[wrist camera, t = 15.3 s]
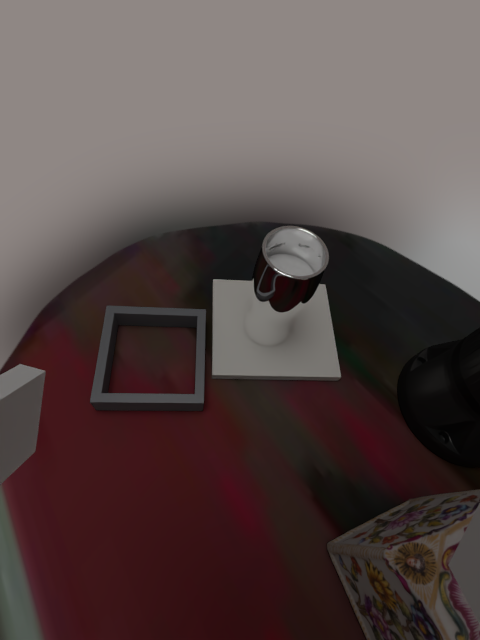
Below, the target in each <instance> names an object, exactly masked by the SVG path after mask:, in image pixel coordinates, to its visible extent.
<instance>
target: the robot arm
mask: <svg viewBox="0 0 480 640" xmlns="http://www.w3.org/2000/svg"><path fill="white" fill-rule="evenodd" d="M44 379H45V371H43V370H40V369H36V368H32V367H29V366H25V365H21V364H20V365H18V366H16V367H14V368H12V369H11V370H9V371H7V372H5V373H3V374H1V375H0V484H1V483H2V482H4V481H5V480H6V479H7V478H8V477H9V476H10V475H11V474H12V473H13V472H14V471H15V470H16V469H17V468H18V467H19V466H20V465H21V464H22V463H24V462H25V461H26V460H27V459H28V458H29V457H30V456H31V455H32V454H33V453H34V452H35V449H36V442H37V434H38V426H39V418H40V410H41V403H42V395H43V387H44ZM398 400H399V404H400V408H401V411H402V413H403V416H404V418H405V420H406V422H407V424H408V425H409V427H410V429H411V430H412V432H413V433H414V434H415V435H416V437H417V438H418V439H419V440H420V441H421V442H422V443H423V444H424V445H425V446H426V447H427V448H428V449H429V450H431V451H432V452H433V453H435V454H436V455H438V456H439V457H441V458H443V459H445V460H447V461H449V462H451V463H454V464H457V465H461V466H465V467H480V328H478V329H477V330H475V331H474V332H472V333H471V334H470V335H468V336H467V337H465V338H464V339H461V340H457V341H452V342H447V343H443V344H438V345H434V346H431V347H428V348H426V349H424V350H422V351H421V352H419V353H418V354H417V355H415V356H414V357H413V358H411V359H410V360H409V361H408V362H407V363H406V365H405V366H404V367H403V369H402V371H401V374H400V376H399V381H398ZM448 566H449V568H450V569H451V571H452V573H453V575H454V577H455V579H456V581H457V583H458V585H459V586H460V588H461V590H462V592H463V594H464V596H465V598H466V600H467V602H468V604H469V605H470V607H471V609H472V611H473V613H474V615H475V617H476V619H477V621H478V622H479V624H480V503H479V505H478V507H477V509H476V511H475V513H474V515H473V517H472V519H471V521H470V523H469V525H468V527H467V529H466V531H465V533H464V535H463V537H462V539H461V541H460V543H459V545H458V547H457V549H456V551H455V553H454V555H453V557H452V559H451V561H450V563H449V565H448Z"/></svg>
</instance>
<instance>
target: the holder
mask: <svg viewBox="0 0 480 640" xmlns="http://www.w3.org/2000/svg"><path fill="white" fill-rule="evenodd" d="M205 322H206V309H179V308H153V307H127V306H107V308H106V314H105V319H104V325H103V331H102V337H101V342H100V348H99V354H98V359H97V365H96V371H95V377H94V382H93V388H92V394H91V399H90V403H91V404H92V405H93V407H94V408H95V409H96V410H142V411H203V406H204V370H205ZM118 325H132V326H163V327H194V328H197V344H196V374H195V394H131V393H108V389H109V382H110V376H111V369H112V363H113V356H114V350H115V343H116V337H117V330H118Z"/></svg>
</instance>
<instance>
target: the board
mask: <svg viewBox="0 0 480 640" xmlns="http://www.w3.org/2000/svg"><path fill="white" fill-rule="evenodd" d="M251 307H252V281H239V280H218V279H213V314H212V379H270V380H331V381H338V380H339V379H340V378H341V374H340V368H339V362H338V356H337V350H336V344H335V338H334V333H333V327H332V321H331V315H330V309H329V303H328V297H327V292H326V286H325V285H322V284H319V286H318V288H317V290H316V292H315V294H314V295H313V297H312V299H311V300H310V302H309V303H308V304H307V305H306V306H305V308H304V309H303V310H302V311H301V312H300V313H299V314H298V315H297V316H296V317H295V318H294V319H293V320H292V322H291V329H290V333H289V335H288V337H287V338H286V340H285V341H284V342H282V343H281V344H279V345H276V346H263V345H260V344H258V343H256V342H254V341H253V340H252V339H251V338H250V337H249V336H248V334H247V333H246V330H245V326H244V321H245V317H246V315H247V313H248V311H249V310H250V309H251Z"/></svg>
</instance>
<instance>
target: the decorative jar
mask: <svg viewBox="0 0 480 640" xmlns="http://www.w3.org/2000/svg"><path fill="white" fill-rule="evenodd" d="M479 503H480V489H479V490H471V491H463V492H455V493H447V494H446V493H445V494H438V495H432V496H425V497H419V498H415V499H410V500H408V501H406V502H404V503H402V504H401V505H398V506H397V507H394V508H392V509H390V510H389V511H387V512H384V513H383V514H381V515H378V516H377V517H375V518H373V519H371V520H369V521H367V522H365V523H363V524H362V525H359V526H358V527H356V528H354V529H352V530H350V531H348V532H346V533H345V534H343V535H341V536H339V537H337V538H336V539H334V540H332V541H330V542H329V543H327V549H328V552H329V554H330V557H331V559H332V562H333V564H334V566H335V568H336V571H337V573H338V575H339V577H340V579H341V582H342V584H343V586H344V589H345V591H346V594H347V596H348V598H349V600H350V603H351V605H352V607H353V610H354V612H355V614H356V616H357V619H358V621H359V623H360V625H361V628H362V630H363V632H364V634H365V637H366V639H367V640H480V624H479V622H478V621H477V619H476V617H475V615H474V613H473V611H472V609H471V607H470V605H469V604H468V602H467V600H466V598H465V596H464V594H463V592H462V590H461V588H460V586H459V585H458V583H457V581H456V579H455V577H454V575H453V573H452V571H451V569H450V568H449V566H448V565H449V563H450V561H451V559H452V557H453V555H454V553H455V551H456V549H457V547H458V545H459V543H460V541H461V539H462V537H463V535H464V533H465V531H466V529H467V527H468V525H469V523H470V521H471V519H472V517H473V515H474V513H475V511H476V509H477V507H478V505H479Z"/></svg>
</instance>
